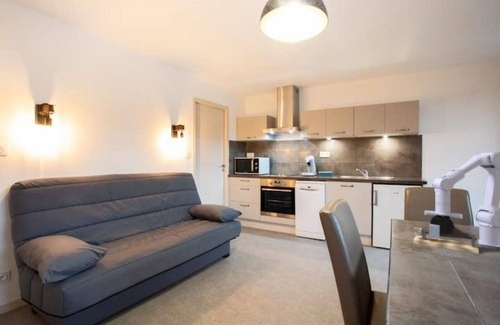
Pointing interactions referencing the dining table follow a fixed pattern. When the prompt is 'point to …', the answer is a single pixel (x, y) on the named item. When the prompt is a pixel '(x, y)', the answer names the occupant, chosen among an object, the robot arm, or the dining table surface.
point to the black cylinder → (449, 225)
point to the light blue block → (434, 231)
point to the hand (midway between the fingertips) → (442, 231)
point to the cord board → (445, 241)
